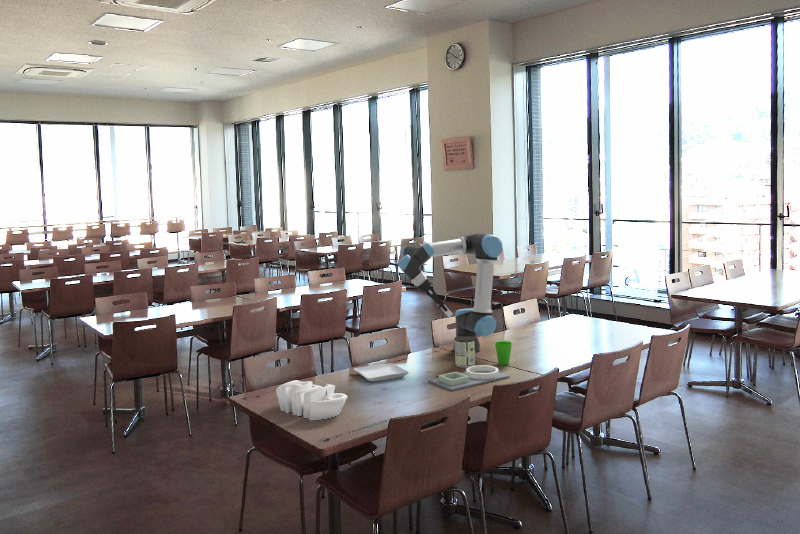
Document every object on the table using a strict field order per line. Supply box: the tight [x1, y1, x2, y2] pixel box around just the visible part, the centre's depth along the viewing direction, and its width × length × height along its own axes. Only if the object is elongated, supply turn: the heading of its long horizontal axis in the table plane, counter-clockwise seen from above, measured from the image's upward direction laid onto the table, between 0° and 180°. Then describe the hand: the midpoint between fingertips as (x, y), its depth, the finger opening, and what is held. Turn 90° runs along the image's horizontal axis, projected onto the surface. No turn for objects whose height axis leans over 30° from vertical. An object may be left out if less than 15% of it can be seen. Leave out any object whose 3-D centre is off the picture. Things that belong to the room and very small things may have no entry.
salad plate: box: [353, 362, 410, 383], centre depth 326 cm, size 21×21×3 cm
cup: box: [494, 340, 513, 366], centre depth 340 cm, size 9×9×11 cm
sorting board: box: [428, 364, 510, 392], centre depth 315 cm, size 18×34×4 cm, turn 123°
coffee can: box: [454, 336, 476, 368], centre depth 341 cm, size 10×10×14 cm
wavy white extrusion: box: [275, 379, 348, 421], centre depth 277 cm, size 35×16×10 cm, turn 45°
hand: (449, 313), depth 338 cm, fingers open, 13 cm apart
